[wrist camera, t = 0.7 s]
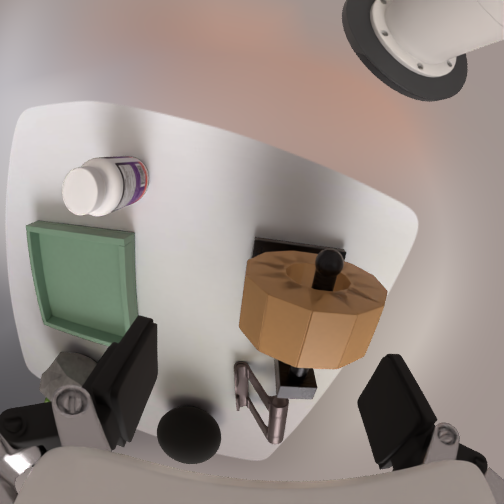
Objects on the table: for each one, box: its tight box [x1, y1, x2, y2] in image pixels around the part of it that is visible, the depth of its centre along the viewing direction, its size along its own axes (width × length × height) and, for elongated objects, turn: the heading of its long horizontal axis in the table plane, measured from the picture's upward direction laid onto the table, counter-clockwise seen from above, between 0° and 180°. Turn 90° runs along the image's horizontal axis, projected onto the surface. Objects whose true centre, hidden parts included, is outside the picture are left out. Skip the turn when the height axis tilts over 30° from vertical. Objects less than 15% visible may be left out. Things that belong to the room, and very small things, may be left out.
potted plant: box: [39, 352, 97, 403], centre depth 32 cm, size 12×13×15 cm
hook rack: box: [252, 237, 346, 399], centre depth 25 cm, size 13×10×12 cm
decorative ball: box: [157, 406, 221, 464], centre depth 34 cm, size 10×10×10 cm
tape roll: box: [239, 251, 387, 369], centre depth 21 cm, size 4×11×11 cm, turn 83°
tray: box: [26, 221, 138, 346], centre depth 30 cm, size 16×17×3 cm
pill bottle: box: [62, 156, 149, 216], centre depth 23 cm, size 5×5×10 cm
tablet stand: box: [234, 362, 289, 444], centre depth 32 cm, size 9×8×8 cm
